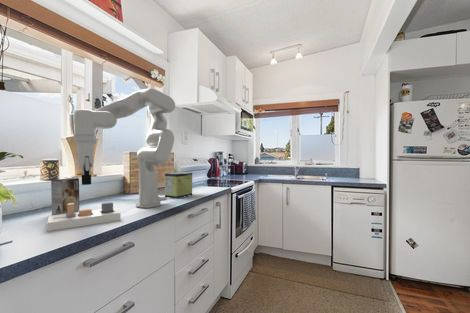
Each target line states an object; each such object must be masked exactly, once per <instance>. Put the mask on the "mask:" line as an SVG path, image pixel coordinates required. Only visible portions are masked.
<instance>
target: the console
mask: <svg viewBox="0 0 470 313" xmlns="http://www.w3.org/2000/svg"><path fill="white" fill-rule="evenodd" d="M75 214H76V216H74V217H66V214H60V215H52V214H51V215H48V218H47V232H53V231H58V230H59V231H60V230H64V229H65V230H66V229H69V228H71V229H72V228H78V227H83V226H91V225H96V224H97V225H98V224H103V223H109V222H116V221H121V212H120V211H119V210H118V209H117V208H116V207H113V212H110V213H102V208H101V209H93V210H92V215H87V216H80V217H79V211H76V212H75Z"/></svg>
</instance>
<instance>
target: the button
mask: <svg viewBox="0 0 470 313" xmlns="http://www.w3.org/2000/svg"><path fill="white" fill-rule="evenodd" d="M113 208H114V202H103V203H101V209H102V213H110V212H113Z"/></svg>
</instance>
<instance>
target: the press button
mask: <svg viewBox="0 0 470 313" xmlns="http://www.w3.org/2000/svg"><path fill="white" fill-rule="evenodd" d="M78 212H79V217H80V216H87V215H92V208H84V209H79V211H78Z"/></svg>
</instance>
